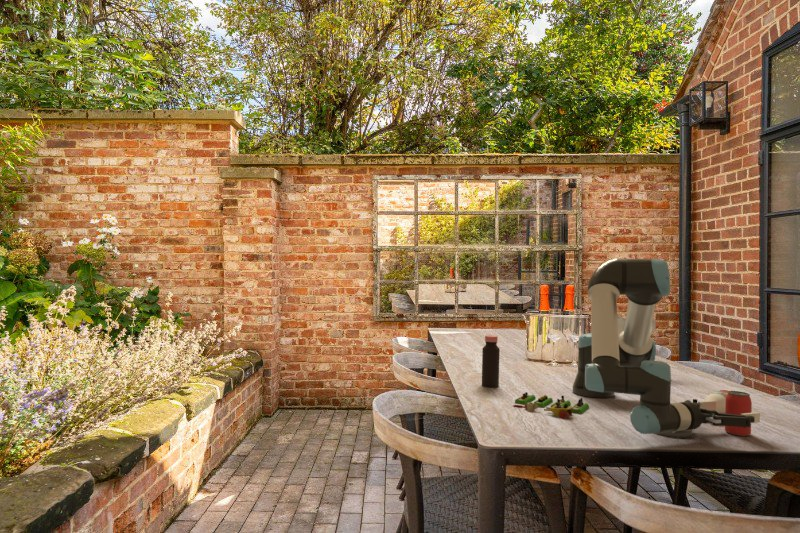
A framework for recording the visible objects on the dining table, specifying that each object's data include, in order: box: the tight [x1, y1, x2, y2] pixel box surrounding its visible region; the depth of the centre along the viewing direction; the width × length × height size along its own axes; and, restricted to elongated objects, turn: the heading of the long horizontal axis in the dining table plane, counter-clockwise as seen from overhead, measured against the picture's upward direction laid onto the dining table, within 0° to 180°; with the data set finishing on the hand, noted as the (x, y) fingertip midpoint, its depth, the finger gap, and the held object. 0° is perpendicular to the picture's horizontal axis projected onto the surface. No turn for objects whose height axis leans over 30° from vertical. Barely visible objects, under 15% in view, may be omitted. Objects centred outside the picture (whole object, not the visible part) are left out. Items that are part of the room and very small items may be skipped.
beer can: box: [724, 390, 753, 437], centre depth 158 cm, size 7×7×12 cm
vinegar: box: [481, 334, 500, 388], centre depth 215 cm, size 7×7×20 cm
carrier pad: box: [656, 429, 694, 438], centre depth 159 cm, size 12×12×2 cm
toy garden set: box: [513, 391, 590, 419], centre depth 182 cm, size 23×19×5 cm
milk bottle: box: [703, 388, 734, 417], centre depth 177 cm, size 8×8×20 cm
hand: (736, 410), depth 157 cm, fingers open, 13 cm apart
